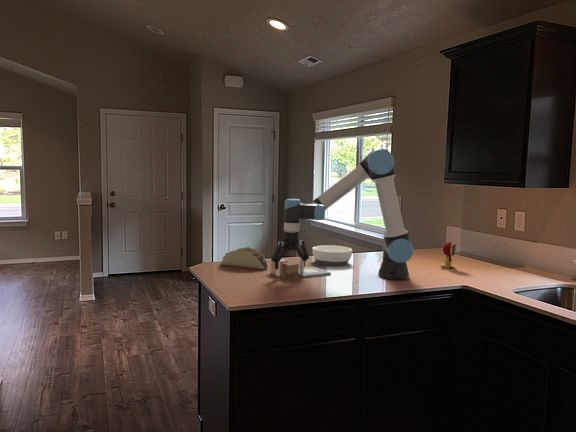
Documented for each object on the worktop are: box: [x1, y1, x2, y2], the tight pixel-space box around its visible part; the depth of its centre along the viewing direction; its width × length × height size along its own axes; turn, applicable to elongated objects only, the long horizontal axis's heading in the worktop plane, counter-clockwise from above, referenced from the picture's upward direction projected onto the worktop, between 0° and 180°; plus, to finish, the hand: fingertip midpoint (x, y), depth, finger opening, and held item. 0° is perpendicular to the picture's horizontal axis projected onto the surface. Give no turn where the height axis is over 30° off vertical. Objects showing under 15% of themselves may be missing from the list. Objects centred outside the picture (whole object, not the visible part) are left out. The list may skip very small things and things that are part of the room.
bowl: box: [312, 244, 353, 267], centre depth 280 cm, size 22×22×8 cm
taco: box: [219, 246, 269, 271], centre depth 262 cm, size 10×27×10 cm, turn 69°
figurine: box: [438, 241, 457, 272], centre depth 274 cm, size 9×10×15 cm
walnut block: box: [281, 261, 300, 280], centre depth 241 cm, size 6×6×7 cm
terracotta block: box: [270, 258, 289, 276], centre depth 249 cm, size 6×6×7 cm
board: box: [298, 266, 332, 279], centre depth 253 cm, size 15×16×1 cm
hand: (289, 274), depth 242 cm, fingers open, 13 cm apart
